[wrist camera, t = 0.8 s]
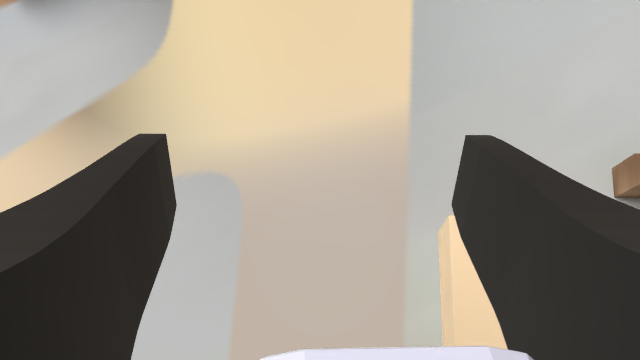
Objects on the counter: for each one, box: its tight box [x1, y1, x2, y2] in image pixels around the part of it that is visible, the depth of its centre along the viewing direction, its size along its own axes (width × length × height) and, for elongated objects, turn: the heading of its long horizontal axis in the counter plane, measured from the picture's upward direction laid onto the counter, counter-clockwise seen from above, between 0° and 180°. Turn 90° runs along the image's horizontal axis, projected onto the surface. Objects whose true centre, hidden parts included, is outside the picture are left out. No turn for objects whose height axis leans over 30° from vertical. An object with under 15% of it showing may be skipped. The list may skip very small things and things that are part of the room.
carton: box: [438, 216, 508, 350], centre depth 22 cm, size 9×7×5 cm
